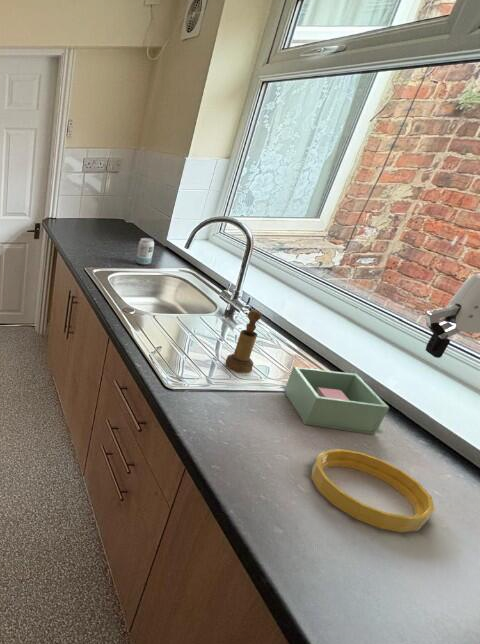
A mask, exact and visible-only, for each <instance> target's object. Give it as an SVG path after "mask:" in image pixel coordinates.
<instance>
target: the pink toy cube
mask: <svg viewBox="0 0 480 644" xmlns="http://www.w3.org/2000/svg"><path fill="white" fill-rule="evenodd" d="M316 393H317V394H318V395H319V397H327V398H334V399H342V400H349V399H348V398H347V397H346V396H345V394H344V393H343V392H342V391H341V390H336V389H328V388H320V387H318V388H317V391H316ZM349 401H350V400H349Z"/></svg>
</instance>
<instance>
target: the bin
mask: <svg viewBox="0 0 480 644" xmlns="http://www.w3.org/2000/svg"><path fill="white" fill-rule="evenodd" d="M318 387H320V388H328V389H336V390H341V391H342V392H343V393H344V394H345V396H346V397H347V398H348V399H349V400H350V401H349V400H342V399H334V398H327V397H319V395H318V394H317V393H316V391H317V388H318ZM283 392H284V394H285V395H286V397H287V398H288V400H289V402H290V403H291V404H292V406H293V408H294V409H295V412H296V413H297V414H298V416H299V417H300V419H301V420H302V422H303V423H304V425H306V426H314V427H321V428H326V429H327V428H328V429H333V430H341V431H347V432H352V433H353V432H354V433H359V434H367V435H373V436H374V435H376V434H377V431H378V430H379V428H380V426H381V424H382V422H383V421H384V420H385V419H384V418H385V417H386V415H387V413H388V411H389V409H390V407H389V405H388V404H387V403H386V402H385V401H384V400H383V399H382V398H381V397H380V396H379V395H378V394H377V393H376V392H375V391H374V390H373V389H372V387H370V386H369V385H368V384H367V382H366V381H364V380H363V379H362V377H360V375H358V374H357V373H351V372H342V371H335V370H325V369H316V368H309V367H300V366H293V367H292V370H291V372H290V374H289V377H288V380H287V382H286V385H285V387H284V390H283Z"/></svg>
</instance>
